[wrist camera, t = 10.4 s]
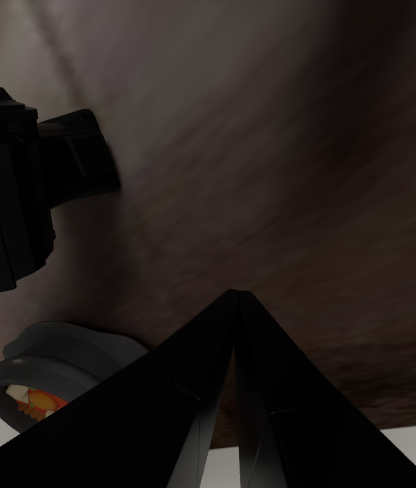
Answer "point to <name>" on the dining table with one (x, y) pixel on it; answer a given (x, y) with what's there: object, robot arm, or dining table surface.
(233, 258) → the dining table surface
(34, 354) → the casserole
